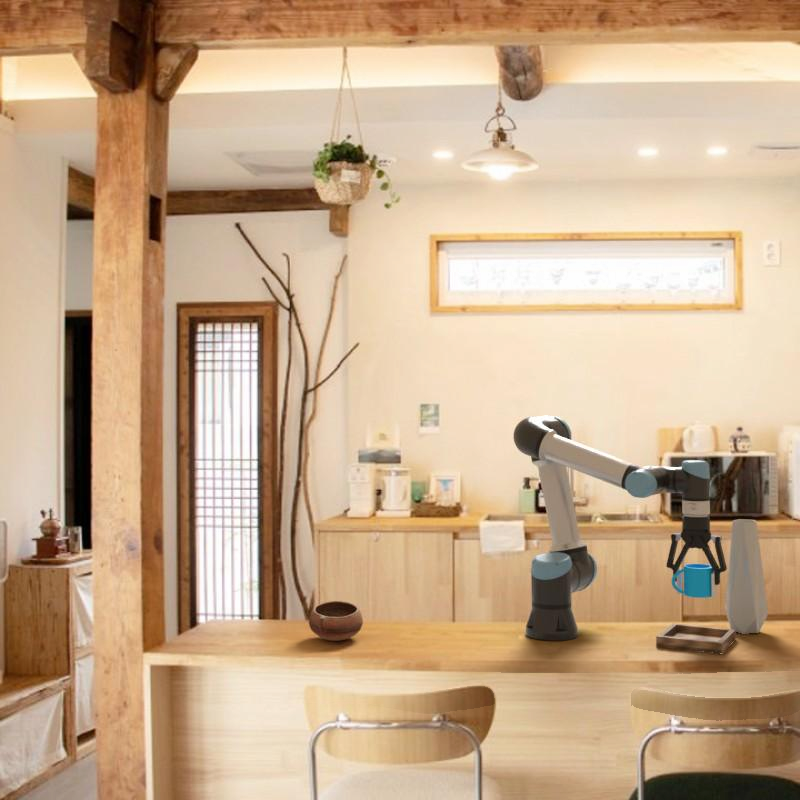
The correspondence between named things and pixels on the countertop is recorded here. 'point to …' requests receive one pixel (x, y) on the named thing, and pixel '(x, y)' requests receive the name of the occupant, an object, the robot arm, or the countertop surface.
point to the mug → (695, 580)
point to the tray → (696, 638)
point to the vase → (745, 580)
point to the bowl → (335, 620)
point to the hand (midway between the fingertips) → (696, 594)
